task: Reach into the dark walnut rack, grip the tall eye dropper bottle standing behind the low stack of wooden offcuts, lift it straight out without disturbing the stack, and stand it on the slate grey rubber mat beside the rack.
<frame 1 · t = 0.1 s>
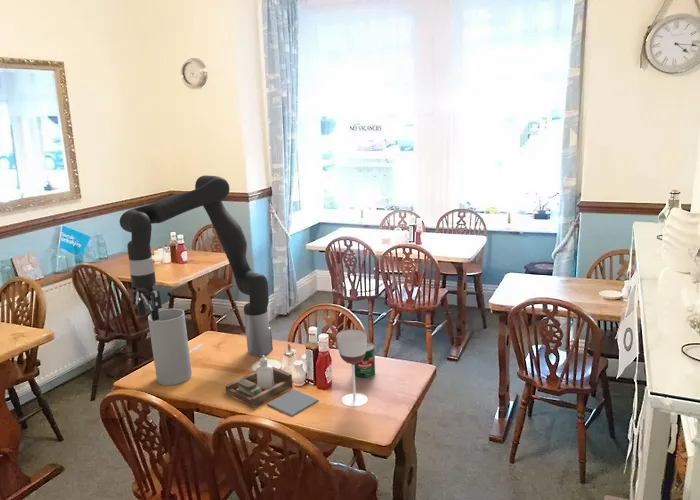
hand: (148, 317, 191), 29 cm above the table, tool pointing down, fingers open, 8 cm apart
grey rubber mat: (293, 403, 190), on the table
offcut stack: (249, 396, 196), resting in walnut rack
wineglass: (354, 400, 190), on the table
canned tomato: (364, 374, 208), on the table
cylinder vase: (174, 378, 211), on the table
walnut rack: (259, 390, 199), on the table
eye dropper bottle: (266, 387, 202), resting in walnut rack
butter knife: (182, 358, 229), on the table
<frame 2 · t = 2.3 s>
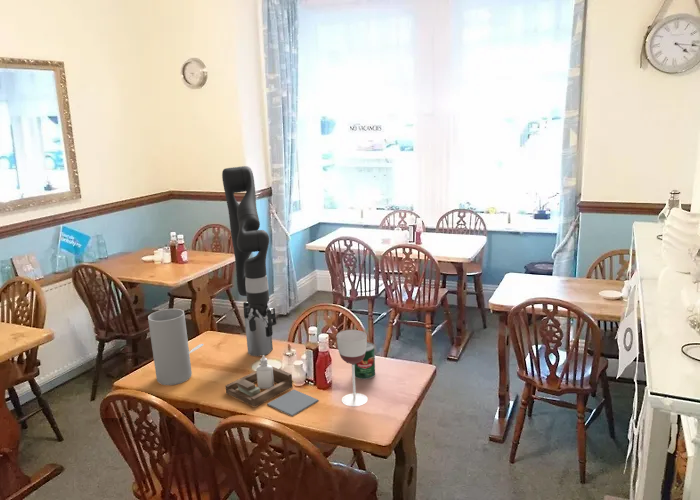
hand: (261, 333, 196), 20 cm above the table, tool pointing down, fingers open, 8 cm apart
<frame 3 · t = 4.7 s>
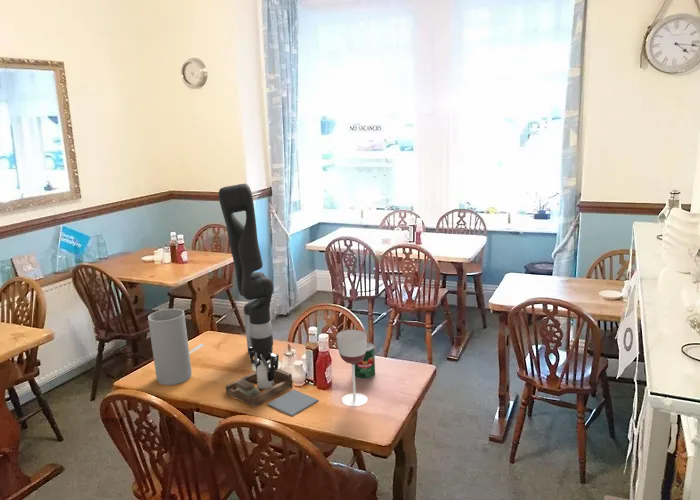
hand: (265, 377, 201), 3 cm above the table, tool pointing down, fingers closed on eye dropper bottle, 5 cm apart
eye dropper bottle: (266, 387, 202), resting in walnut rack, touching gripper
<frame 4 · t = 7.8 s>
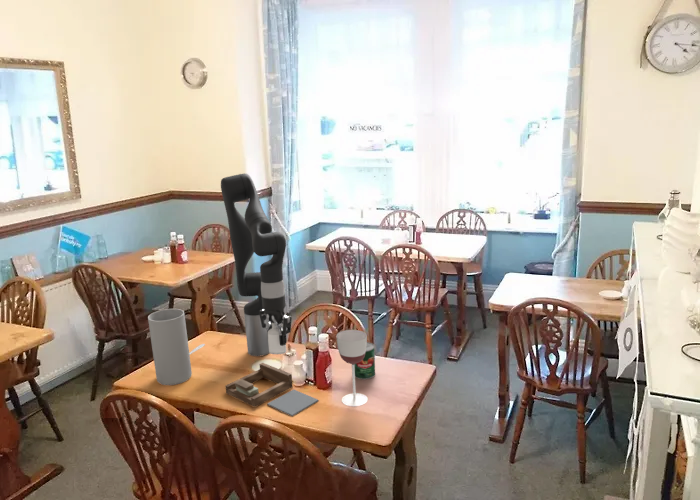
hand: (277, 342, 188), 20 cm above the table, tool pointing down, fingers closed on eye dropper bottle, 5 cm apart
eye dropper bottle: (277, 353, 189), point 17 cm above the table, touching gripper
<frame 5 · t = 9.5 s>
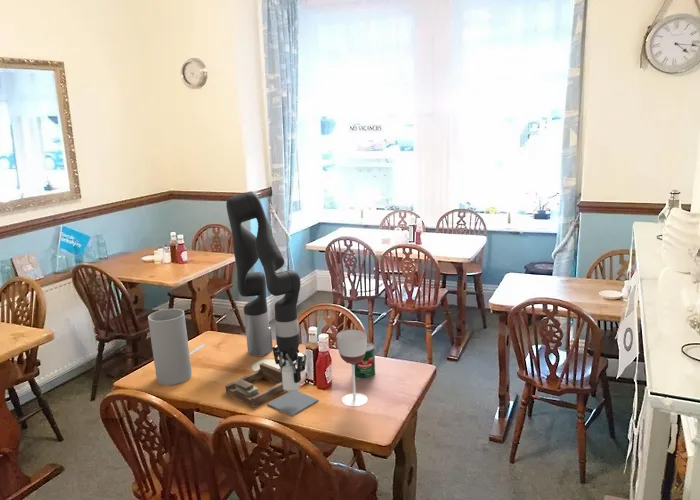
hand: (291, 379, 188), 9 cm above the table, tool pointing down, fingers closed on eye dropper bottle, 5 cm apart
eye dropper bottle: (291, 389, 188), point 5 cm above the table, touching gripper
when the fingers open (5 cm above the table, at t = 11.0 s): eye dropper bottle drops 1 cm, resting on grey rubber mat.
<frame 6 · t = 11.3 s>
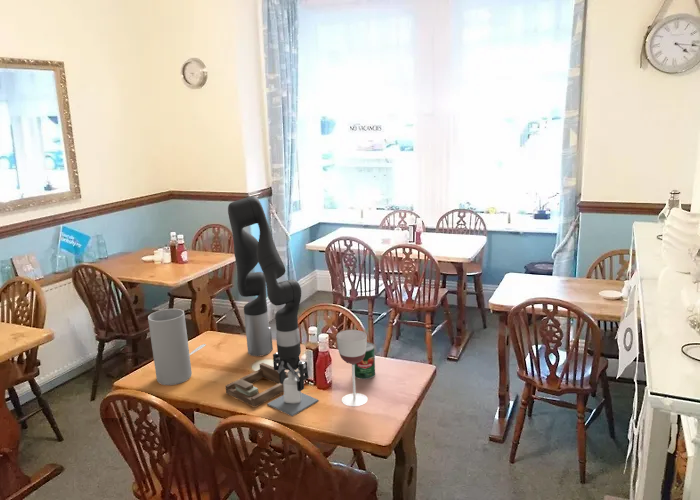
hand: (291, 386, 188), 6 cm above the table, tool pointing down, fingers open, 8 cm apart
eye dropper bottle: (292, 401, 190), resting on grey rubber mat
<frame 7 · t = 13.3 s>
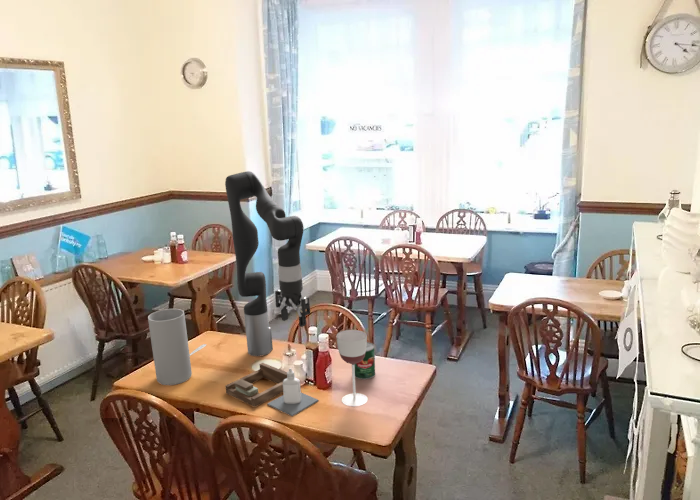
hand: (293, 322, 191), 25 cm above the table, tool pointing down, fingers open, 8 cm apart
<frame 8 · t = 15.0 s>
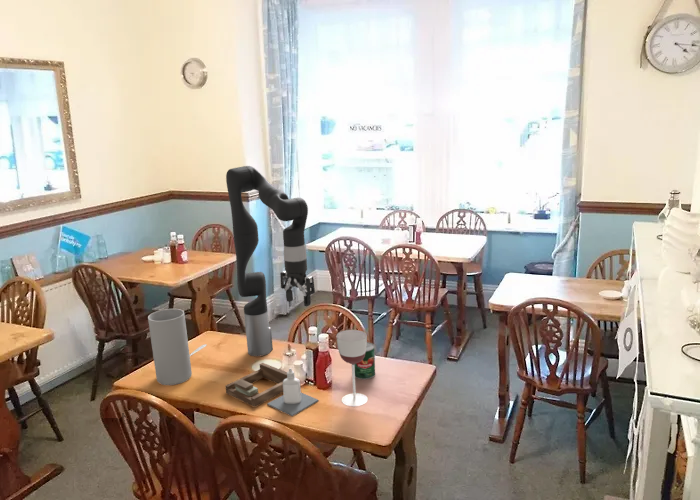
hand: (298, 303, 195), 30 cm above the table, tool pointing down, fingers open, 8 cm apart
at the end: eye dropper bottle inside the target area on the grey rubber mat (0.1 cm from its centre), point 0.3 cm above the grey rubber mat's base; eye dropper bottle tilted 0°; offcut stack moved 1.1 cm from its start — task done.
